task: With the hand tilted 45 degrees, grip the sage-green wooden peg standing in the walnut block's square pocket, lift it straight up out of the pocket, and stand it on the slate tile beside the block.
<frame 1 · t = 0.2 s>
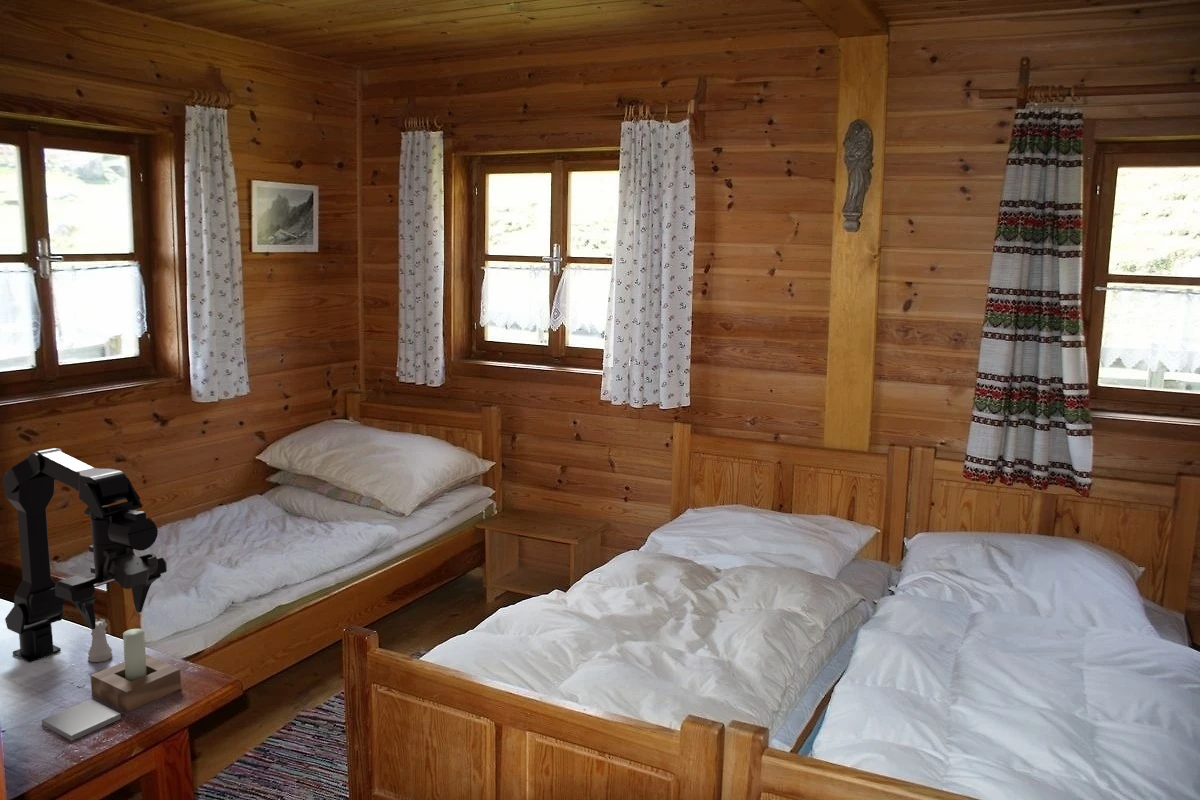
hand: (116, 620, 179), 15 cm above the table, tool pointing down, fingers open, 9 cm apart
walnut pocket block: (136, 691, 183), on the table
sage peg: (135, 662, 182), in the walnut pocket block
rook chess piece: (100, 659, 195), on the table
slate tile: (81, 721, 172), on the table
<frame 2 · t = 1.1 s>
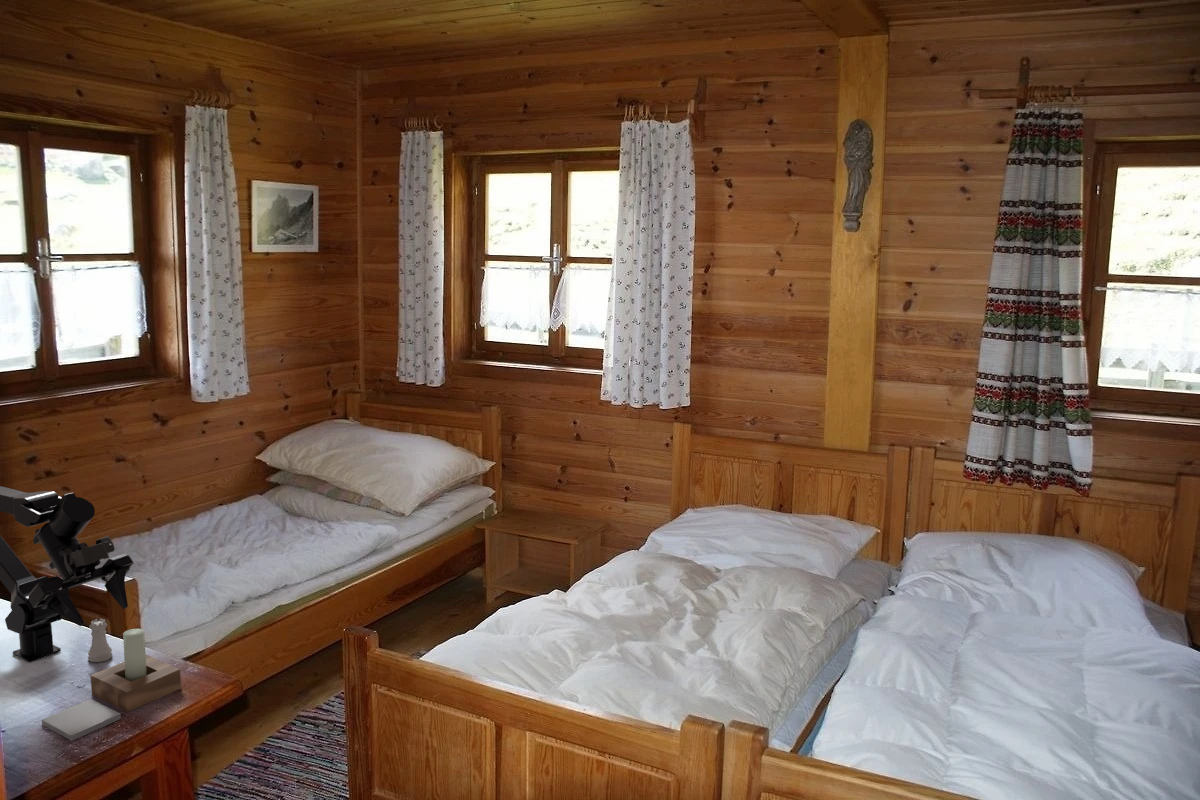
hand: (104, 616, 184), 13 cm above the table, tool tilted 45°, fingers open, 9 cm apart
nothing on the table moved.
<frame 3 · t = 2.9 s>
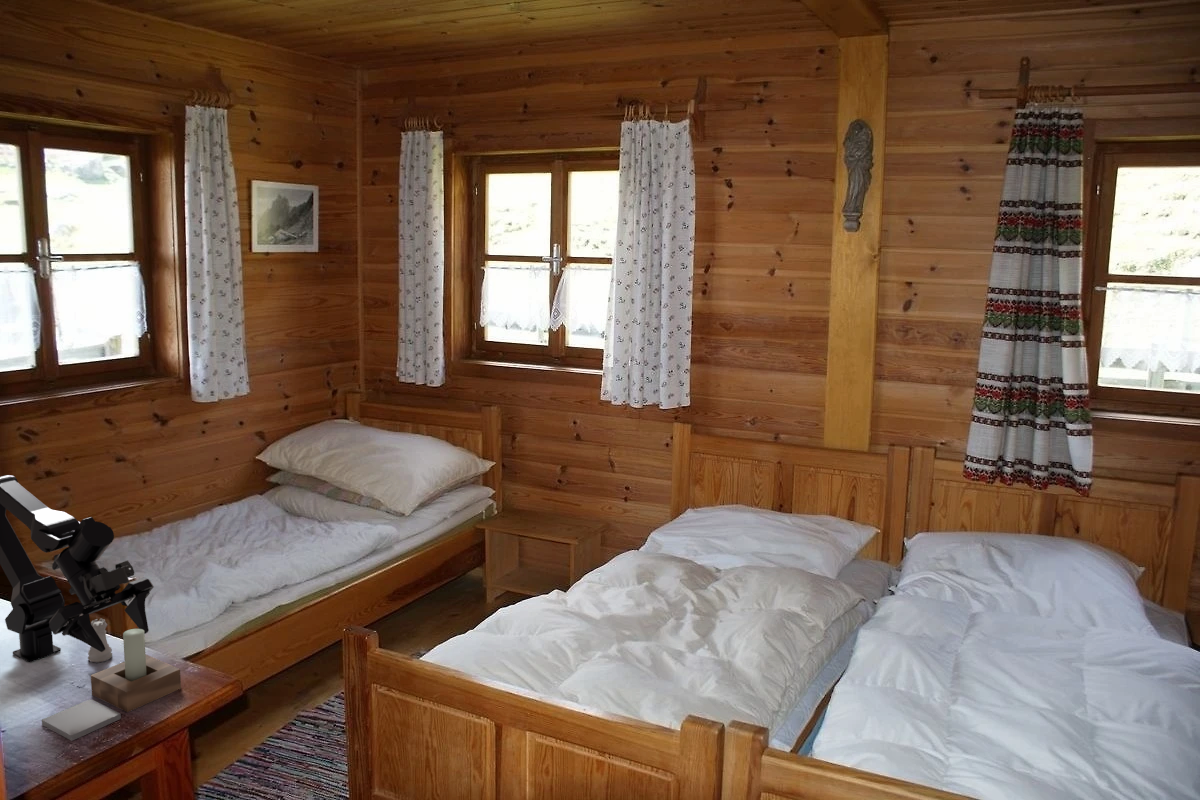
hand: (125, 641, 182), 10 cm above the table, tool tilted 45°, fingers open, 9 cm apart
nothing on the table moved.
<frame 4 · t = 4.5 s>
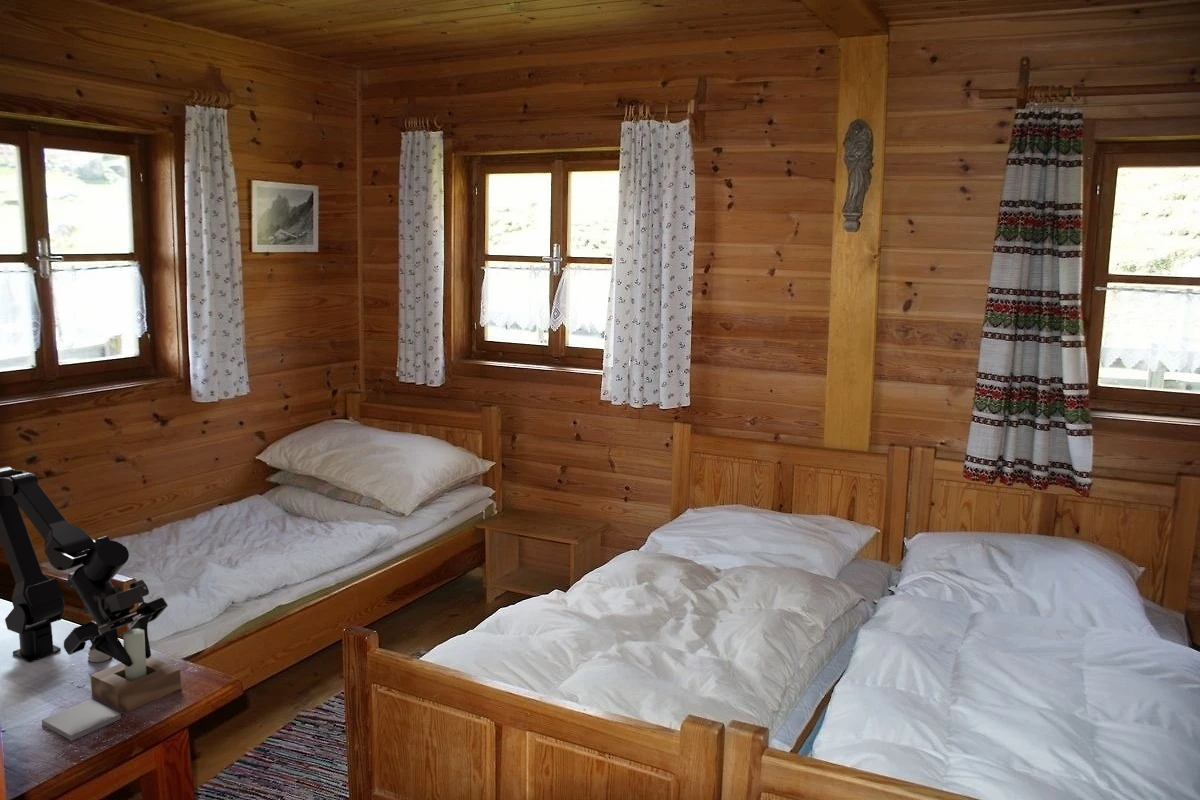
hand: (140, 661, 181), 7 cm above the table, tool tilted 45°, fingers closed on sage peg, 4 cm apart
sage peg: (135, 662, 182), in the walnut pocket block, touching gripper
everything else where it was.
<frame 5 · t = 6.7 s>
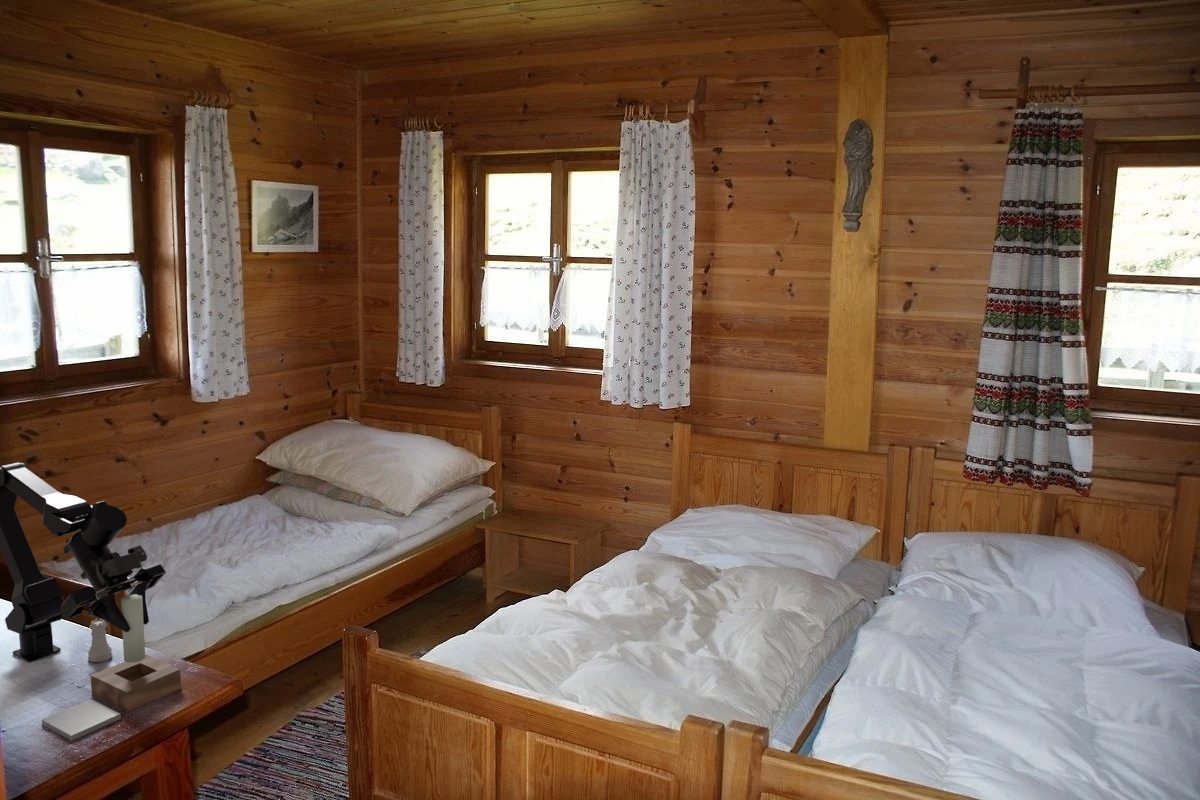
hand: (137, 627, 179), 13 cm above the table, tool tilted 45°, fingers closed on sage peg, 4 cm apart
sage peg: (133, 628, 180), point 13 cm above the table, touching gripper
everything else where it was.
when the fingers open (9 cm above the table, at t = 9.0 s): sage peg drops 1 cm, resting on slate tile.
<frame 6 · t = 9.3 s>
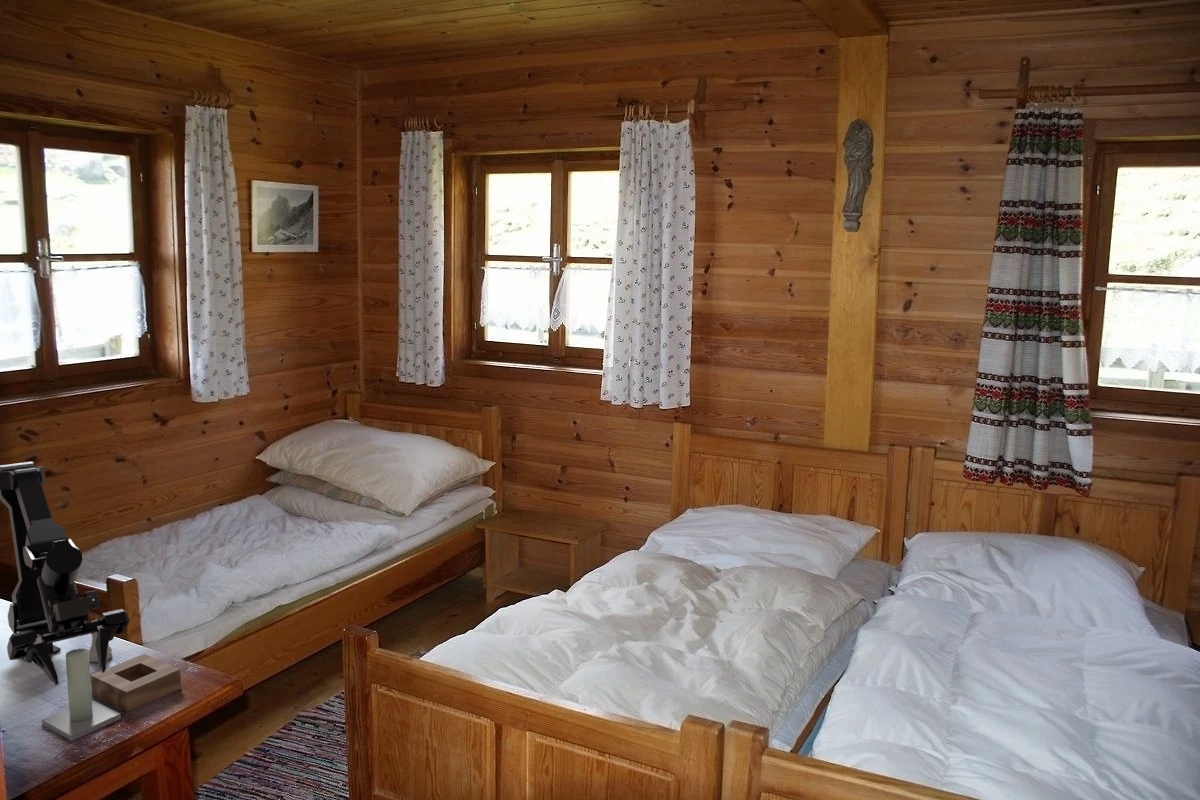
hand: (80, 677, 169), 9 cm above the table, tool tilted 45°, fingers open, 7 cm apart
sage peg: (79, 684, 170), on the slate tile, point 7 cm above the table
everything else where it was.
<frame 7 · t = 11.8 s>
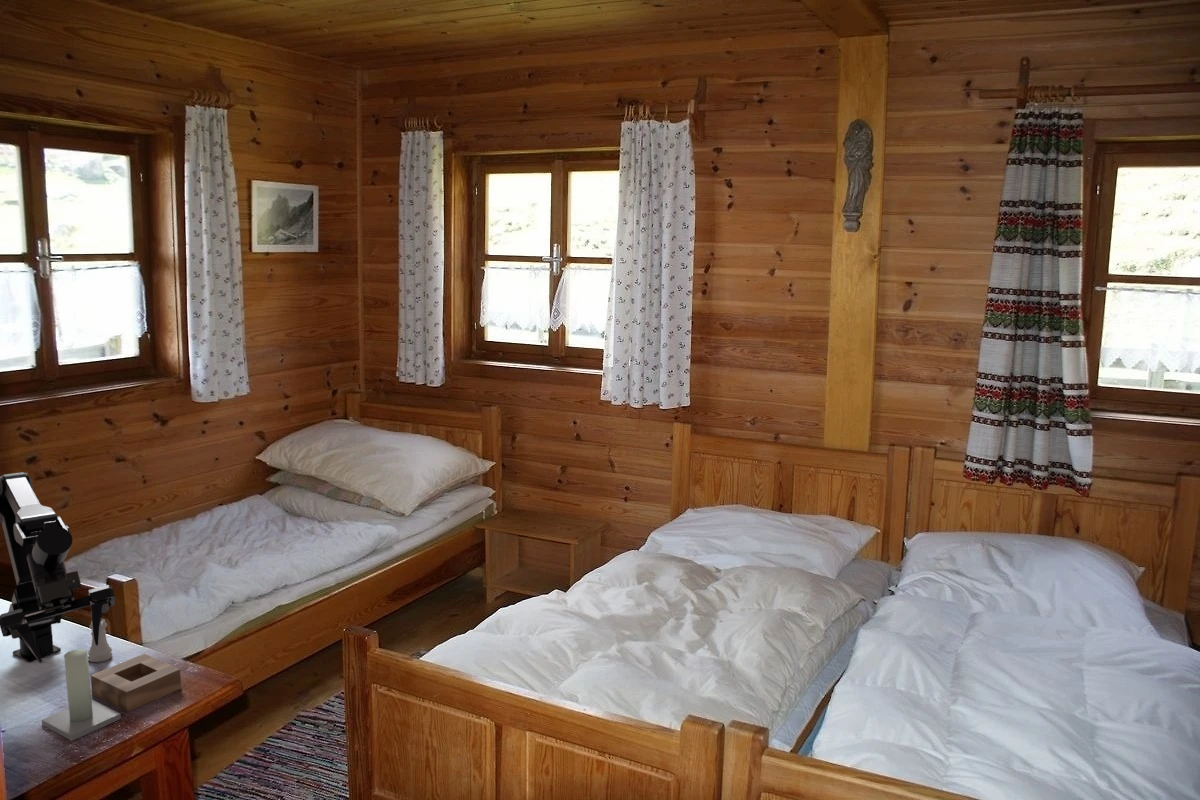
hand: (69, 653, 176), 10 cm above the table, tool tilted 40°, fingers open, 9 cm apart
nothing on the table moved.
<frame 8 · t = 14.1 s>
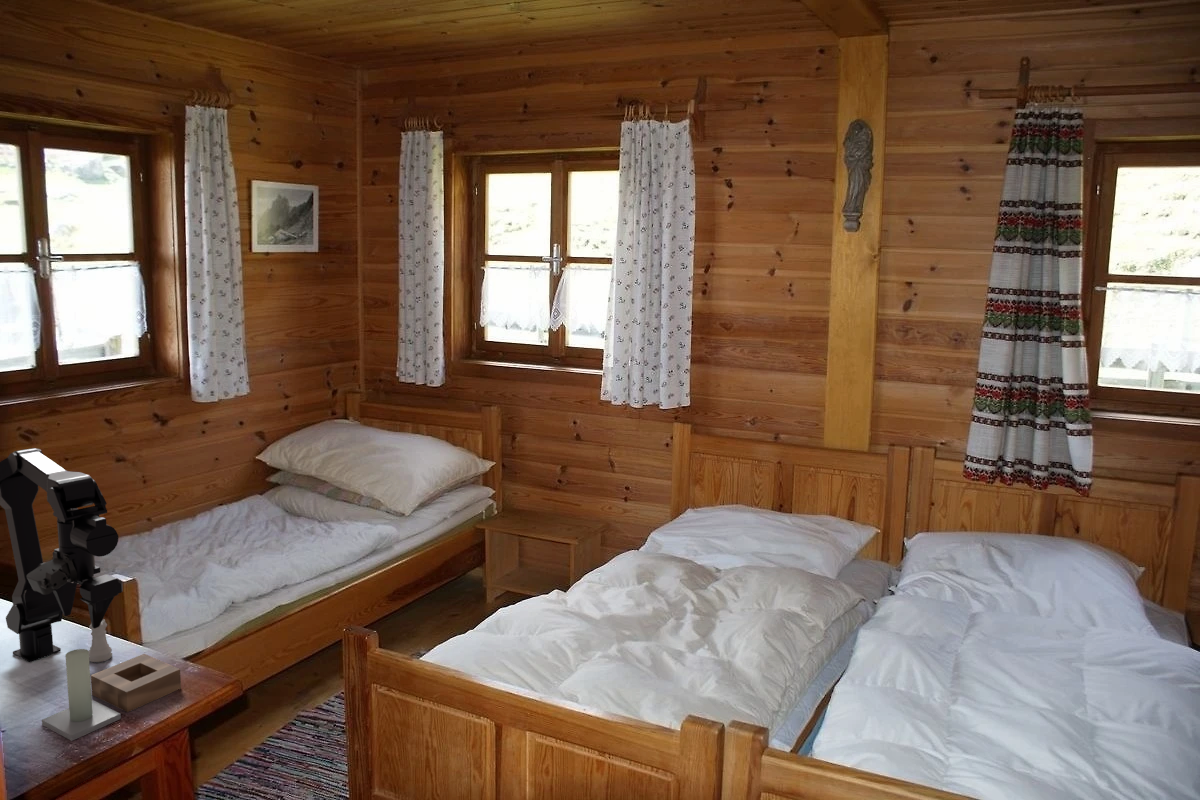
hand: (81, 621, 182), 13 cm above the table, tool pointing down, fingers open, 9 cm apart
nothing on the table moved.
at the end: sage peg 0.0 cm off-centre on the slate tile, point 7.0 cm above the slate tile's base; sage peg tilted 1°; the gripper is holding nothing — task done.
